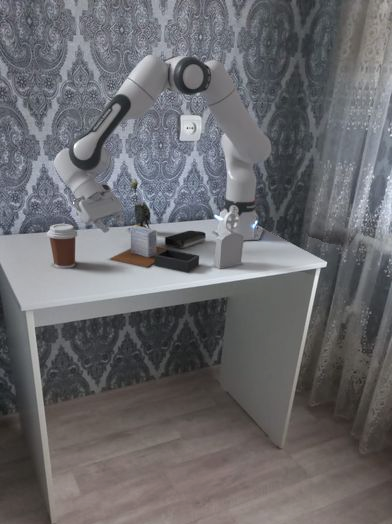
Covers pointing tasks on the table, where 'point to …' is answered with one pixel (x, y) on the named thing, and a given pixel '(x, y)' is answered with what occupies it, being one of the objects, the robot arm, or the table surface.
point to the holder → (176, 260)
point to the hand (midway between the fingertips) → (114, 228)
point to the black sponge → (185, 239)
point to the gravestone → (229, 243)
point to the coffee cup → (63, 244)
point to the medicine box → (143, 241)
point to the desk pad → (136, 258)
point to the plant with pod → (140, 209)
